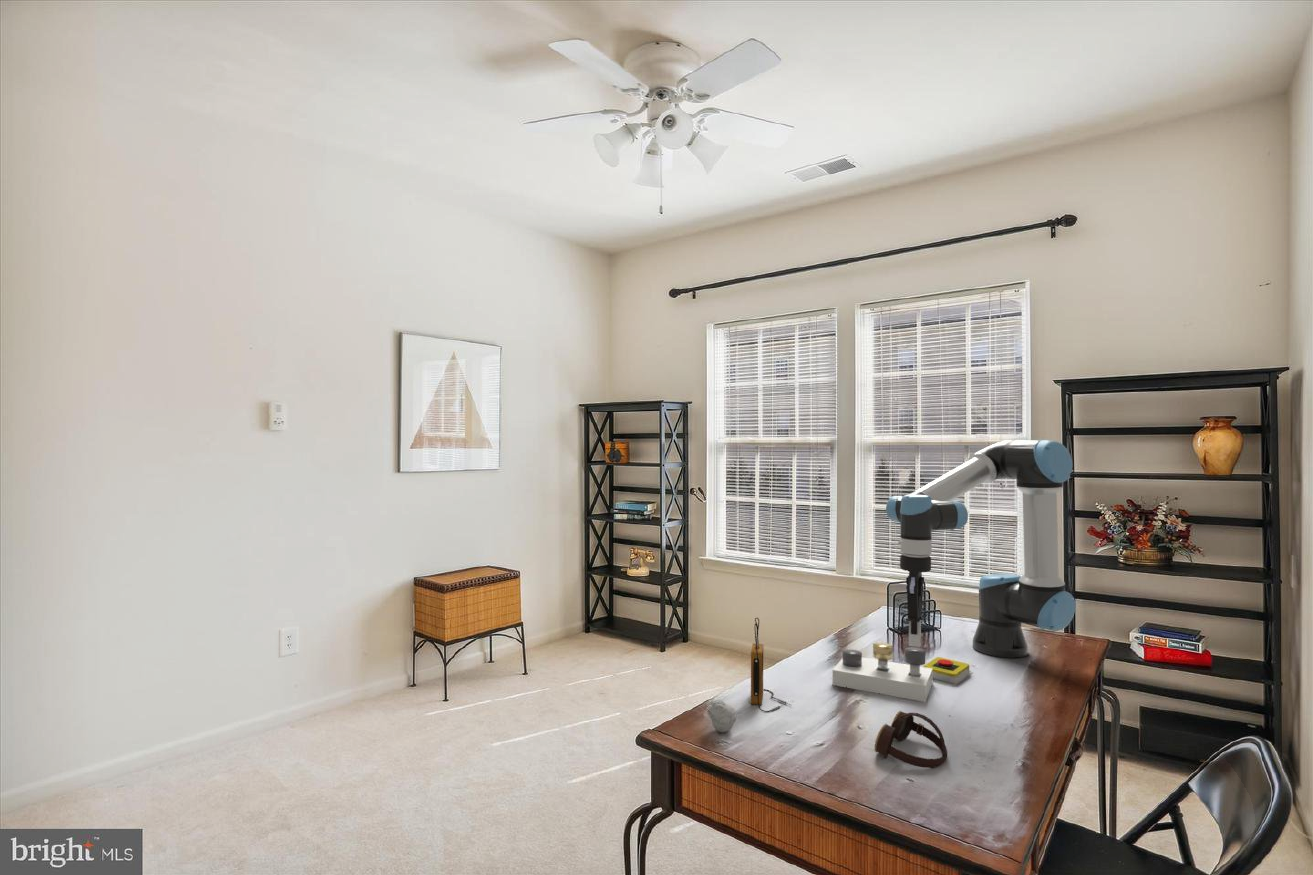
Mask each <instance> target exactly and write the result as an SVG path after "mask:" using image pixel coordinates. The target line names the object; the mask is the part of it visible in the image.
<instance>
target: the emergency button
mask: <svg viewBox="0 0 1313 875" xmlns="http://www.w3.org/2000/svg"><path fill="white" fill-rule="evenodd" d="M922 667H925V668H932V669H933V682H935V683H939V684H943V685H946V686H952V687H954V686H957V685H958V684H959V683H961V682H962V681H963V680H965V679H966V678H968V677H969V676H970V675H971V674H972V673H973V671H972V670H970V664H969V663H966V662H963V661H958V660H954V659H950V658H945V657H939V656H937V657H935V658H934V659H932V660H931V661H929V662H926V663H925V664H924V665H922Z"/></svg>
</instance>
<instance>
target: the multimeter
mask: <svg viewBox="0 0 1313 875" xmlns="http://www.w3.org/2000/svg"><path fill="white" fill-rule="evenodd" d="M754 622H755V623H754V640H755V643H752V646H751V650H750V704H751V705H757V706H758V708H759V711H762V712H764V713H769V712H772V711H776V710H777V709H780V708H781V707H783V706H784V705H789V706H792V704H790V703H788V702H787V701H785V700H782V699H780V698H776V697H773V696H774V692H773V691H771V690H769V689H765V688H764V643H760V642H759V641H760V640H759V629H760V619H759V617H755V618H754ZM763 689H764V690H763ZM766 690H767V691H766ZM764 691H766V692H769V691H770V693H771V695H770V697H771V699H774V700H776V701H778V702H779V703H783V704H781V705H777V706H775V707H773V708H771V709H770V710H764V709H762V708H761V707H760V705H763V697H764Z"/></svg>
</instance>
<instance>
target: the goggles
mask: <svg viewBox="0 0 1313 875" xmlns="http://www.w3.org/2000/svg"><path fill="white" fill-rule="evenodd" d="M914 717H917V718H920V719H923V721H925V722H927V723H929V725H930V726H931V727H933V729H934V730H935V731H936V733H935V732H933V731H932V730H930V729H929V728H927V727H925V725H924V724H922V723H920V722H919V723H917V722H915V721H914V720H915V718H914ZM911 731H913V732H915V734H917V735H918V736H920V737H921V736H923V737H924V738H926V739H928V740H929V741H931V742H932V743H933V744H934V745H935V746H936V747H937V748H938V749H939V751H940V752H941V757H938V758H926V757H925V758H924V757H920V756H915V755H913V754H909V753H907V752H904V751H902V750H900V749H898V748H896V747H895V746H893V743H894V740H896V741H897V742H899V743H902V742H904V741H905V740H907V738H908V737H909V735H910V734H911ZM945 741H946V740H945V738H944V736H943V733H942V731H941V729H940V727H939V726H938V725H937V724H936V723H935V722H934V721H933V720H932V719H931V718H929V717H927V716H926V715H924V714H921V713H918V712H908V713H907V712H904V711H902V710H899V711H898V712H897V713H896V714H895V716H894V718H893V719H892V722H891V725H889V724H888V723H884V724H883V725H882V726H881V728H880V729H879V732H878V734H877V736H876V738H875V741H874V751H875V753H878V754H879V755H881V756H882V757H883V758H884V759H887V758H888V756H889V755H890V756H891V757H893V758H894V759H897V760H899V761H901V762H902V763H905V764H908V765H910V766H914V767H917V768H918V767H919V768H923V769H924V768H926V769H927V768H928V769H934V768H937V767H940V766H941V765H943V764H944V763H945V762H946V761H947V759H948V749H947V746H946V743H945Z"/></svg>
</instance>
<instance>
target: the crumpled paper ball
mask: <svg viewBox="0 0 1313 875" xmlns="http://www.w3.org/2000/svg"><path fill="white" fill-rule="evenodd" d="M706 710H707V711H706V714H707V715H708V717H709V719H710V720H711V724H712V727H713V728H714V729H715V730H716V731H717V732H720V733H727V732H729V731H730V730H732V729H733V726H734V724H735V723H736V720H737V714H736V712H737V709H735V707H734V706H732V705H730V704H728V703H727V702H724V701H723V700H722V699H711V702H710V704H709V705H708V706H707V707H706Z"/></svg>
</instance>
